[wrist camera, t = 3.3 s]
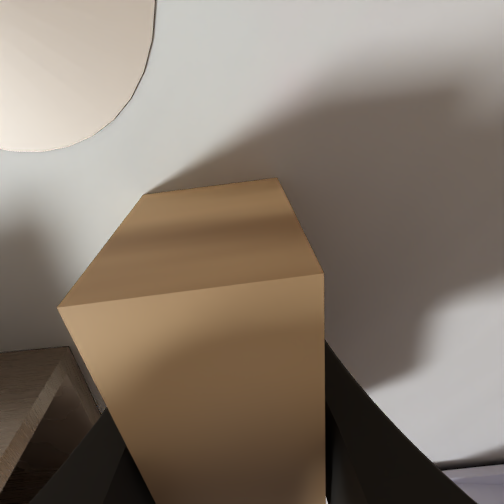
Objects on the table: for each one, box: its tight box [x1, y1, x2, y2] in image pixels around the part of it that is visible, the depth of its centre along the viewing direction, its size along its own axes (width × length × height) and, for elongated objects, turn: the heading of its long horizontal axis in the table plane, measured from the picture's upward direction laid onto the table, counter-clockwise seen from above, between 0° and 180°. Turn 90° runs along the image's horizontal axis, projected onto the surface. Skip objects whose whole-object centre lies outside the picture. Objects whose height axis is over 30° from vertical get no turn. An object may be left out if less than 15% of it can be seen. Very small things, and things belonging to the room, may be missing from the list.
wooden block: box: [57, 178, 326, 504], centre depth 9 cm, size 10×4×5 cm, turn 6°
